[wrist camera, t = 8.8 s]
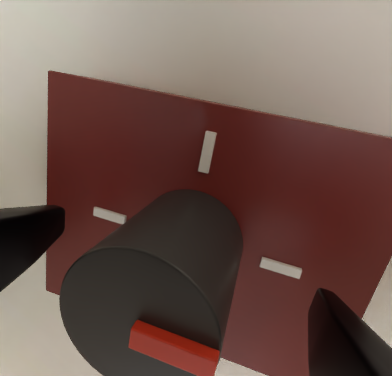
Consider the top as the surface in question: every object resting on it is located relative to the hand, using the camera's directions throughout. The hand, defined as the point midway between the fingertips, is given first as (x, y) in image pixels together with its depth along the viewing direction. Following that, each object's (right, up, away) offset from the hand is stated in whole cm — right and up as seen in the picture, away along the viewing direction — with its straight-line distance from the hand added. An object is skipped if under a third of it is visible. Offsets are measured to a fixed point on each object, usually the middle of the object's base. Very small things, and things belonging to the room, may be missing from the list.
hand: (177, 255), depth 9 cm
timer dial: (0, 0, +1) cm, 1 cm away
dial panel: (+1, +1, +4) cm, 4 cm away
